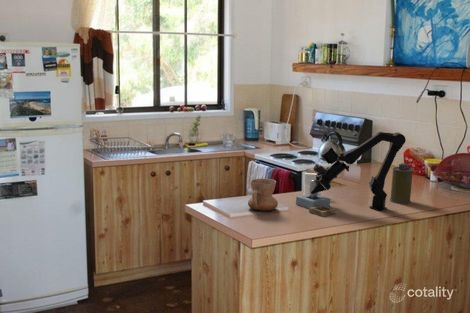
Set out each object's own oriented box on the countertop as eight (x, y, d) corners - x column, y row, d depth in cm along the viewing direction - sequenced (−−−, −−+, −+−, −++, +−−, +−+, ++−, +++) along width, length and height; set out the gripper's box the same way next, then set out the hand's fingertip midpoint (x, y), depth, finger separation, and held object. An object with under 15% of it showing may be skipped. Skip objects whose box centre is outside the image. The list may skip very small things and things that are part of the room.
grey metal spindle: (315, 204, 303) (316, 179, 300) (318, 206, 299) (319, 180, 297) (307, 204, 302) (309, 179, 299) (310, 206, 298) (312, 181, 296)
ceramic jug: (259, 203, 301) (259, 175, 298) (284, 207, 293) (285, 179, 291) (239, 211, 287) (239, 182, 284) (265, 216, 279) (266, 186, 276)
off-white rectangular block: (321, 194, 323) (322, 172, 321) (319, 198, 314) (321, 176, 312) (304, 193, 325) (305, 171, 323) (302, 197, 316) (304, 174, 314)
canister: (404, 205, 307) (407, 166, 303) (386, 201, 314) (389, 163, 310) (414, 201, 315) (417, 164, 311) (396, 197, 322) (399, 161, 318)
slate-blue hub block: (312, 201, 309) (313, 193, 308) (329, 206, 300) (330, 198, 299) (295, 204, 301) (296, 196, 301) (313, 209, 292) (313, 201, 291)
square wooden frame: (321, 209, 294) (322, 205, 293) (335, 213, 287) (335, 209, 286) (308, 211, 288) (309, 207, 288) (322, 216, 281) (322, 212, 281)
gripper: (321, 155, 305) (299, 175, 308) (325, 162, 287) (300, 183, 289) (336, 171, 306) (313, 191, 309) (340, 179, 288) (316, 200, 290)
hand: (310, 191), depth 299 cm, fingers open, 8 cm apart
